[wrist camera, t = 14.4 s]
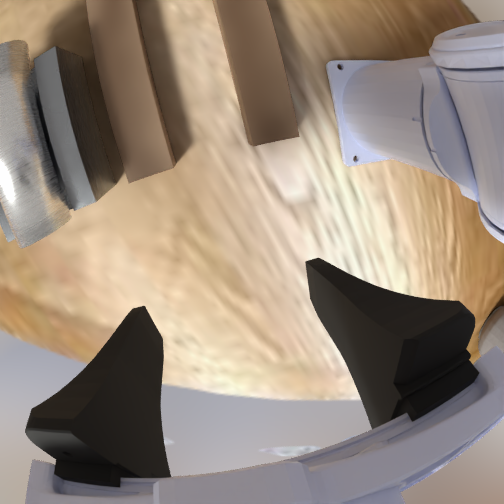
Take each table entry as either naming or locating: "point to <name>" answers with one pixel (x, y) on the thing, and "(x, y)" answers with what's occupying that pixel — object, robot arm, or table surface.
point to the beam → (144, 93)
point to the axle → (25, 154)
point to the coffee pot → (492, 332)
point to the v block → (69, 130)
